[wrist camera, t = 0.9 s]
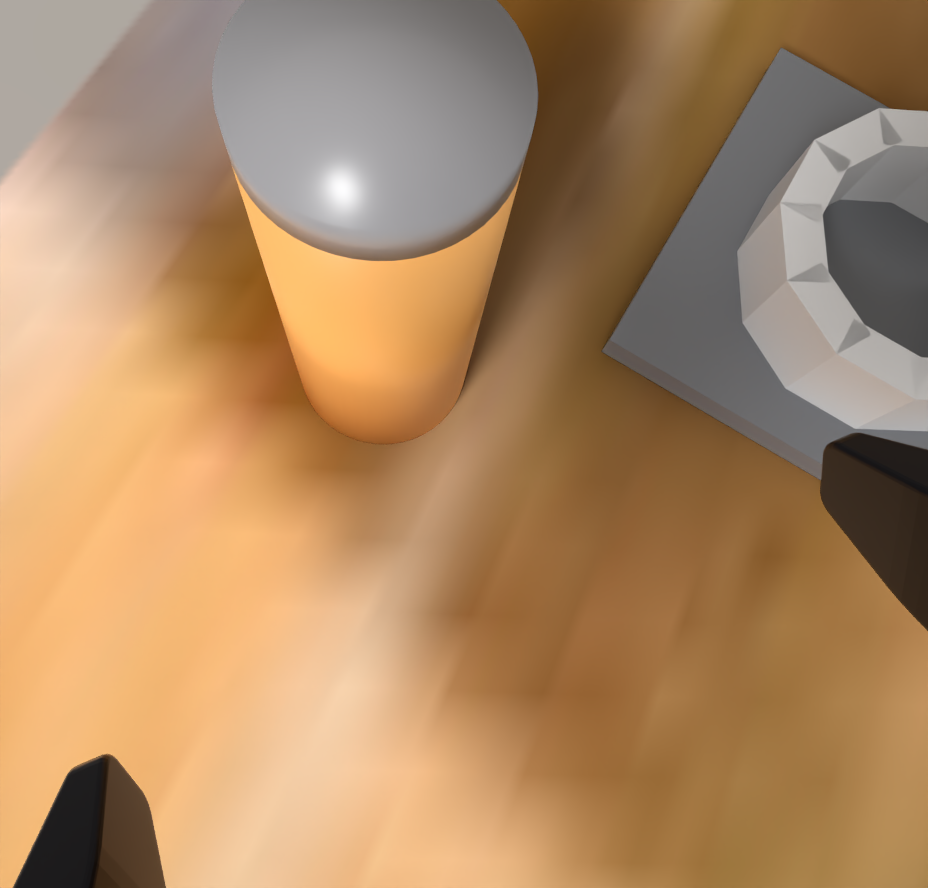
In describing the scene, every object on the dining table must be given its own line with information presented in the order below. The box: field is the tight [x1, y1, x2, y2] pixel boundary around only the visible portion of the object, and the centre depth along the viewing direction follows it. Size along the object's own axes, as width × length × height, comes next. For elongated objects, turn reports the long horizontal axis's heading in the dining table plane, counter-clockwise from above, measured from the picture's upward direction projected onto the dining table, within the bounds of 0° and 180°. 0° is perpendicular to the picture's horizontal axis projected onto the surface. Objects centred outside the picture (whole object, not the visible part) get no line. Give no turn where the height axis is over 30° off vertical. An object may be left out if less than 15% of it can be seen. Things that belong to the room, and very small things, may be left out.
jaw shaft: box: [212, 0, 538, 444], centre depth 19 cm, size 5×5×13 cm
